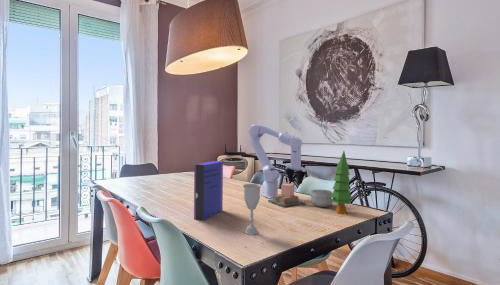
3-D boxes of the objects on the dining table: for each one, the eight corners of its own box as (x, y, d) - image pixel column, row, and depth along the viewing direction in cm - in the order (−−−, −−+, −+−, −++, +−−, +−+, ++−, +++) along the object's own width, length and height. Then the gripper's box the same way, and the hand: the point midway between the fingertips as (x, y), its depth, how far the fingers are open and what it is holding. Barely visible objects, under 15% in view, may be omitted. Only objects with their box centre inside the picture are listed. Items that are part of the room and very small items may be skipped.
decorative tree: (353, 211, 146) (354, 150, 144) (348, 216, 138) (349, 151, 137) (333, 208, 151) (334, 149, 150) (327, 213, 143) (328, 150, 142)
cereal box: (213, 209, 147) (214, 160, 146) (222, 210, 145) (222, 161, 144) (194, 218, 131) (194, 164, 130) (203, 220, 129) (203, 164, 128)
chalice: (250, 227, 120) (251, 183, 119) (264, 231, 115) (265, 185, 115) (238, 232, 114) (239, 185, 113) (252, 236, 110) (253, 187, 109)
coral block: (281, 195, 161) (281, 184, 161) (285, 194, 165) (285, 183, 165) (289, 196, 158) (289, 185, 158) (293, 195, 163) (294, 184, 162)
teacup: (308, 206, 155) (308, 191, 155) (313, 202, 165) (314, 187, 164) (335, 210, 148) (335, 194, 148) (339, 205, 158) (340, 190, 158)
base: (268, 201, 164) (268, 194, 164) (288, 199, 171) (288, 192, 171) (283, 207, 152) (283, 199, 152) (304, 204, 159) (305, 196, 159)
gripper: (282, 158, 174) (281, 181, 174) (299, 160, 162) (298, 185, 162) (291, 157, 178) (290, 180, 178) (308, 159, 166) (308, 184, 166)
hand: (295, 182), depth 171 cm, fingers open, 7 cm apart
